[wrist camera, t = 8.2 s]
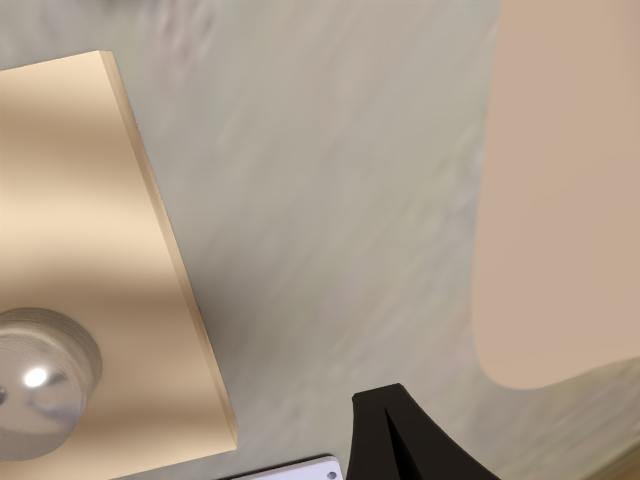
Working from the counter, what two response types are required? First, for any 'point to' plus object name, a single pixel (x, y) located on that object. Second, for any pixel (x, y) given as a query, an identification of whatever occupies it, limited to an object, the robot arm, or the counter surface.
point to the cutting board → (103, 272)
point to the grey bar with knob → (43, 381)
